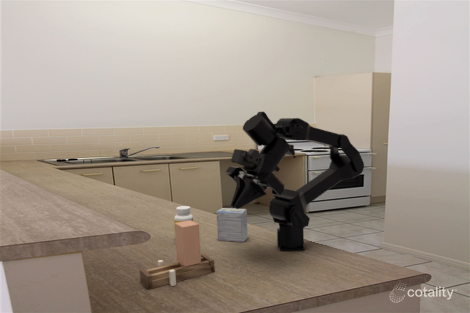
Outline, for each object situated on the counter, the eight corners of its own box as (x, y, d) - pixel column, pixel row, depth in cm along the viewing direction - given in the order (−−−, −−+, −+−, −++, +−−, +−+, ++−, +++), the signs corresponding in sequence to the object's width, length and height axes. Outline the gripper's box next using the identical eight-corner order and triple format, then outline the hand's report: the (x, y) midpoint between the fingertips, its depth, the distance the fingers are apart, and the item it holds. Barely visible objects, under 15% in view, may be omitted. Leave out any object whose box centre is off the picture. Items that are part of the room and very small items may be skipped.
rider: (192, 261, 97) (190, 220, 96) (201, 267, 93) (198, 224, 92) (177, 265, 95) (174, 223, 94) (184, 271, 91) (182, 227, 90)
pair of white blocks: (162, 273, 95) (161, 259, 95) (176, 285, 88) (175, 270, 88) (158, 274, 94) (157, 260, 94) (171, 286, 88) (170, 271, 87)
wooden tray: (204, 264, 99) (204, 253, 99) (215, 272, 94) (214, 260, 94) (140, 281, 91) (139, 269, 91) (148, 289, 86) (147, 277, 86)
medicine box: (248, 237, 119) (247, 208, 118) (243, 242, 115) (242, 212, 114) (222, 236, 121) (221, 207, 120) (217, 240, 117) (216, 211, 116)
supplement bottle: (190, 243, 115) (189, 209, 114) (172, 243, 116) (170, 209, 115) (196, 237, 121) (194, 205, 120) (179, 237, 122) (177, 205, 121)
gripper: (230, 135, 108) (194, 182, 103) (272, 138, 92) (232, 193, 87) (256, 162, 113) (223, 207, 108) (300, 169, 97) (263, 222, 92)
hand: (233, 207), depth 99 cm, fingers closed
